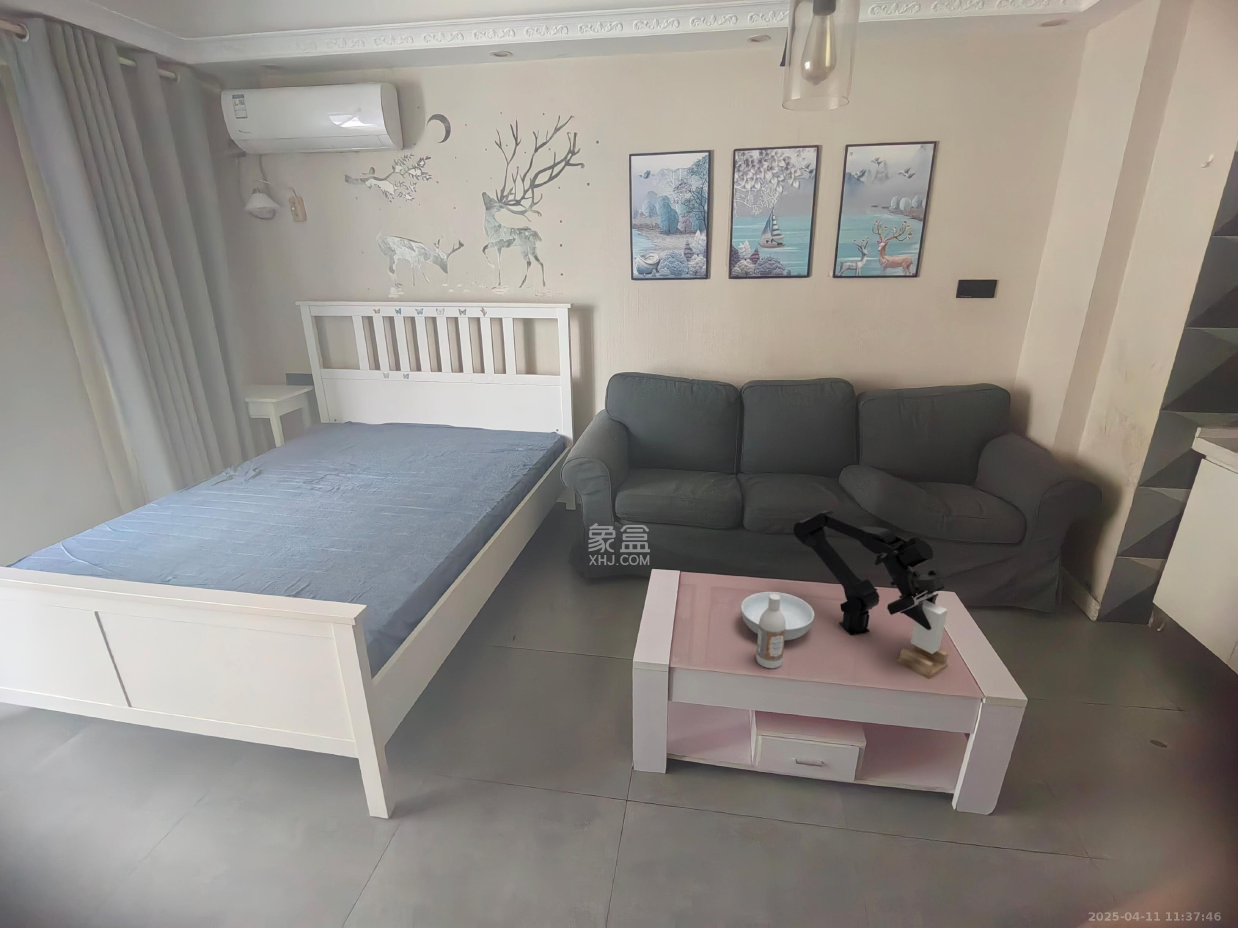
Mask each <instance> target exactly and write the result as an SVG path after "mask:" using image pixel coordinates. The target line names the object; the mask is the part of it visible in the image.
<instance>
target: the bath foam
mask: <svg viewBox="0 0 1238 928" xmlns="http://www.w3.org/2000/svg"><path fill="white" fill-rule="evenodd" d="M779 608H780V596H779V595H777V594H771V595H770V596H769V603H768V608H767V609H766V610H765V611H764V612H763V614H762V615H761V617H760V621H759V630H758V634H757V643H756V657H755V658H756V662H757V663H758V664H759V666H760V665H761V667H764V668H767V669H776V668H779V667H781V665H782V664H783V658H784V649H785V641H786V640H785V629H786V622H785V618H784V616H783V614H782V612H781V611H780V609H779Z"/></svg>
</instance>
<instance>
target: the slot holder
mask: <svg viewBox="0 0 1238 928" xmlns="http://www.w3.org/2000/svg"><path fill="white" fill-rule="evenodd" d="M914 646H915V645H914ZM948 654H949V653H948V652H946V651H945V650H942V649H941V648H940V649H939V650H938V651H936V652H935V653H933V654H931V653H929V652H927V651H925V650H923V649H921V648H919V647H917V646H915V647H914V648H912V650H908V649H907V648H903V649H900V655H899V658H897V661H896V662H898V663H899V664H901V665H902V666H905V667H907V668H908V669H910V670H912V671H914V672H916V673H918V674H919V675H921V676H924V677H925V678H926V679H931V678H932V677H934V676H935V675H937V674H938V673H940V672H941V671H943V670H944V669H946V668H947V667H948V666H949V663H947V661H948V656H949V655H948Z"/></svg>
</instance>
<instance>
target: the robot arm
mask: <svg viewBox="0 0 1238 928" xmlns="http://www.w3.org/2000/svg"><path fill="white" fill-rule="evenodd" d="M792 528H793V535H794V537H795V538H796V539H797V540H798V541H799V542H800V543H801V544H802V545H804V546H806V547H808V548H809V549H812V550H813V552H815V554H816V555H817V556H818V558H819V559H820V560H821V561H822V562H823V564H824V565H825V566H826V567H827V569H828V571H830V572H831V574H832V575H833V577H835V579H836V580H837V582H839V584H840V585H841V586H842V588H843V591H844V596H845V599H846V601H844V602H842V603H840V604H839V606H840V610H841V612H842V613H843V614H842V615H843V617H842V621H839V622H838V625H839V626H840V627H842V629H843V630H845V632H847V633H848V634H849V635H850V636H854V635H857V636H858V635H862V634H869V633H870V632H871V630H870V629H869V622H870V621H869V620H870V610H872V609H873V608H874V607H876V606H878V605H879V603H880V594H879V593H878V588H876V587H875V586H874V585H873V584H872V582H871V581H870V580H869V579H868V578H866V579H864V580H862V579H860V578H858V576H856V574H855V573H854V572H853V571H852V569H851V568H850V567H849V566H848V564H847V563H846V562H845V560H843V558H842V557H841V556H840V555H839V554H838V552H837V551H836V550H835V548H834V547H833V546H832V545H831V543H830V542H829V541H828V539H827V537H826V531H825V528H828V529H830V530H832V531H834V532H837V533H839V534H842V535H844V536H846V537H849V538H851V539H853V540H856V541H858V542H859V543H860V544H861V545H862V547H863V548H865V549H866V550H867V551H870V552H871V553H872V554H874V555H876V559H875V562H874V565H875V566H878V565H880V564H882V565H883V567H884V568H885V570H886V572H887V573H888V575H889V576H890V578H891V580H892V581H891V582H890V585H891V586H892V587H893V586H895V587H896V588H897V590H898V592H899V593H900V595H899V596H898V599H895V600H893V601H892V602H890V603H888V604H887V607H886V608H887V611H888V613H889V614H890V616H893V615H895V614H897V613H900V614H903V615H905V616H907V617H908V618H910V619H911V620H913V621H916V622H917V623H919V624H920V625H921V626H923V627H924V628H925V629H927V630H931V626H930V624H929V622H928V620H927V618H926V616H925V614H924V612H923V610H922V606H923V602H922V601H924V600H927V601H929V602H931V603H934V604H936V601H937V598H938V596H939V593H936V592H940V591H942V590H944V589H945V586H944V585H943V583H942V580H944V576H942V574H941V573H940V571H939V570H938V569H937V568H936V569H935V568H934V569H930V570H929V571H928V573H925V574H922V575H921V573H920V572H919V571H917V570H915V571H913V570H912V568H915V567H918V566H919V565H922V564H924V563H926V562H928V561H930V560H932V559H933V557H934V551H933V548H932V546H931V545H930V544H928V543H927V542H926V541H925V540H923V539H920V537H919V535H916V536H914V537H911V538H909V539H908V540H906V539H904V538H901V537H900V536H898V535H896V534H895V532H894V531H892V530H891V529H888V528H885V527H884V528H883V527H878V526H869V525H868V526H867V525H865V524H862V523H860V522H857V521H854V520H852V519H850V518H848V517H845V516H843V515H840V514H837V513H835V512H834V511H833V510H829V509H828V510H825V511H821V512H818V514H817V515H815V516H813V517H809V518H806V519H804V520H800V521H798V522H796V523H794V525H793V527H792ZM934 593H935V594H934ZM920 602H922V603H920Z"/></svg>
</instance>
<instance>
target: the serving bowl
mask: <svg viewBox="0 0 1238 928" xmlns="http://www.w3.org/2000/svg"><path fill="white" fill-rule="evenodd" d="M771 594H777V595H779V596H780V608H779V609H780V611H781V612H782V614H783V616H784V618H785V622H786V629H785V640H784V641H790V640H795V639H797V638H800V637H802V636H804V635H805V634H806V633H807V632H808V631H809V630H810V629H811V627H812V625H813V623H814V620H815V612H814V609H813V608H812V606H811V605H810V604H809V603H807V602H806V601H805V600H803V599H801V598H800V597H797V596H795V595H793V594H789V593H784V592H779V591H778V592H777V591H764V592H763V591H762V592H756V593H754V594H750V595H749V596H747V597H746V598H744V599H743V601H742V602H741V605H740V611H741V615H742V619H743V622H744V623H745V625H746V626H747V627H748V628H749V629H750V630H751V631H752V632H754V633H755V634H757V635H758V630H759V621H760V617H761V615H762V614H763V612H764V611H765V610H766V609H767V608H768V603H769V596H770V595H771Z"/></svg>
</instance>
